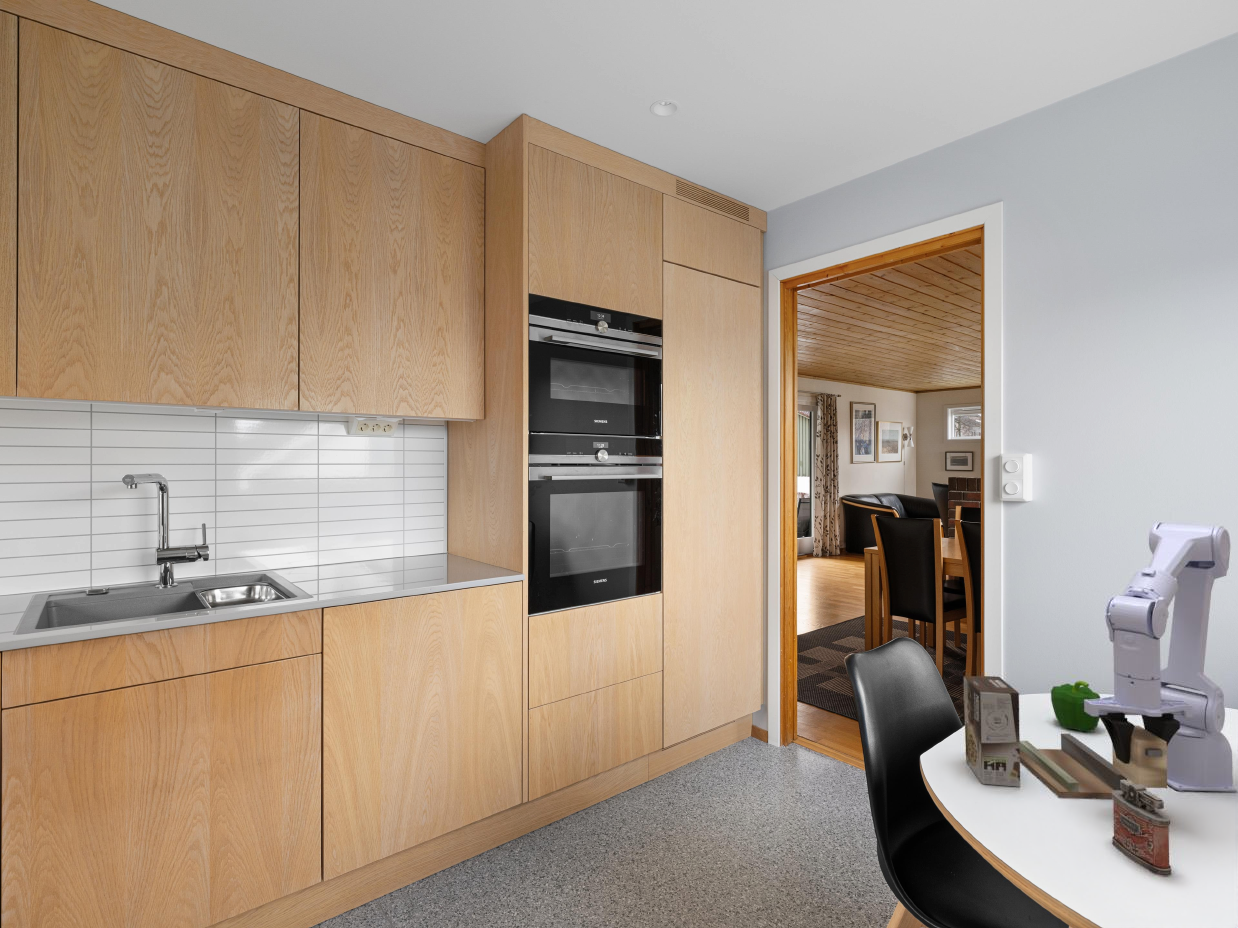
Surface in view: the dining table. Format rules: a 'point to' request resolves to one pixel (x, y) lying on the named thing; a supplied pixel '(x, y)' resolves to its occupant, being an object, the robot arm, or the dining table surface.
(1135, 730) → the oak cabinet block
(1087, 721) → the bell pepper
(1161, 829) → the lighter
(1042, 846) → the dining table surface
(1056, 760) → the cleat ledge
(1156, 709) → the robot arm
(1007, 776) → the coffee box
